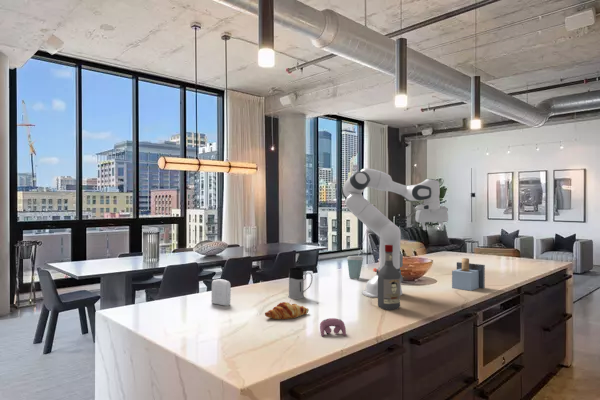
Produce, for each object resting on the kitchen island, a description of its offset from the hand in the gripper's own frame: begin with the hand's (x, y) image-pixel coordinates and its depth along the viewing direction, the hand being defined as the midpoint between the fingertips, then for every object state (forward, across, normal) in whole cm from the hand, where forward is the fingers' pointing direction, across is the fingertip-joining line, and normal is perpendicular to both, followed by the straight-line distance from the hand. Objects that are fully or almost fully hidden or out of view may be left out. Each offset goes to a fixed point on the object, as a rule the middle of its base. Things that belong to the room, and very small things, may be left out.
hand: (432, 229), depth 255 cm
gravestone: (+34, +124, +7) cm, 129 cm away
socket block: (+34, -16, +9) cm, 38 cm away
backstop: (+34, -14, +10) cm, 38 cm away
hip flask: (+34, +12, -27) cm, 45 cm away
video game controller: (+34, +88, +67) cm, 116 cm away
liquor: (+34, +47, +36) cm, 68 cm away
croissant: (+34, +98, +38) cm, 111 cm away
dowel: (+28, -16, +9) cm, 34 cm away
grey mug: (+34, +82, +4) cm, 89 cm away
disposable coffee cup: (+34, +32, -40) cm, 62 cm away
